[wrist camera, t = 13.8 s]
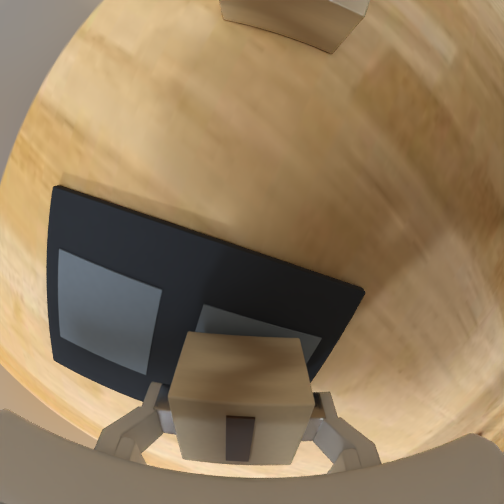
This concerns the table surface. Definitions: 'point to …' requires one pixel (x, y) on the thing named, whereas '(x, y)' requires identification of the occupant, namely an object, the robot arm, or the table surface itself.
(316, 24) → the tile
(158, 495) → the robot arm
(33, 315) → the table surface
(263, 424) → the tile
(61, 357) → the mat
